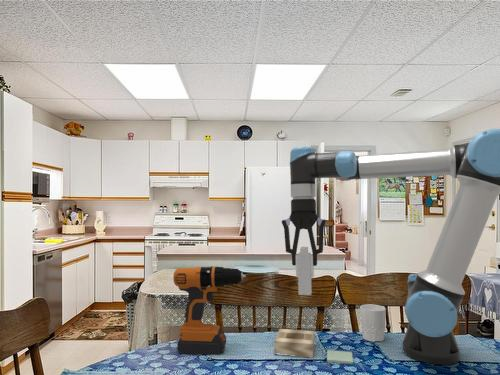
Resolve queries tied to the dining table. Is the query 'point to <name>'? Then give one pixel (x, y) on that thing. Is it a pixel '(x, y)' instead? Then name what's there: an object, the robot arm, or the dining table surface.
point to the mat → (339, 357)
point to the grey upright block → (304, 272)
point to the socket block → (295, 342)
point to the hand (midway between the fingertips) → (304, 276)
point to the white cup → (373, 322)
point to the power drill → (202, 307)
